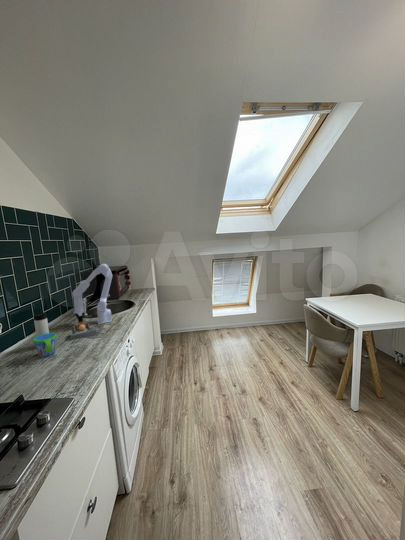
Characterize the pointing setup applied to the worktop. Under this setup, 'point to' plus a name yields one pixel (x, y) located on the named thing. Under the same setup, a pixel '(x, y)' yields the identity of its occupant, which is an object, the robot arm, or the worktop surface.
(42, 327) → the travel mug
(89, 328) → the rails
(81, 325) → the ball
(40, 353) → the snack cup
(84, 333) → the tray
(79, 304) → the robot arm
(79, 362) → the worktop surface
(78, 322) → the brown square block
